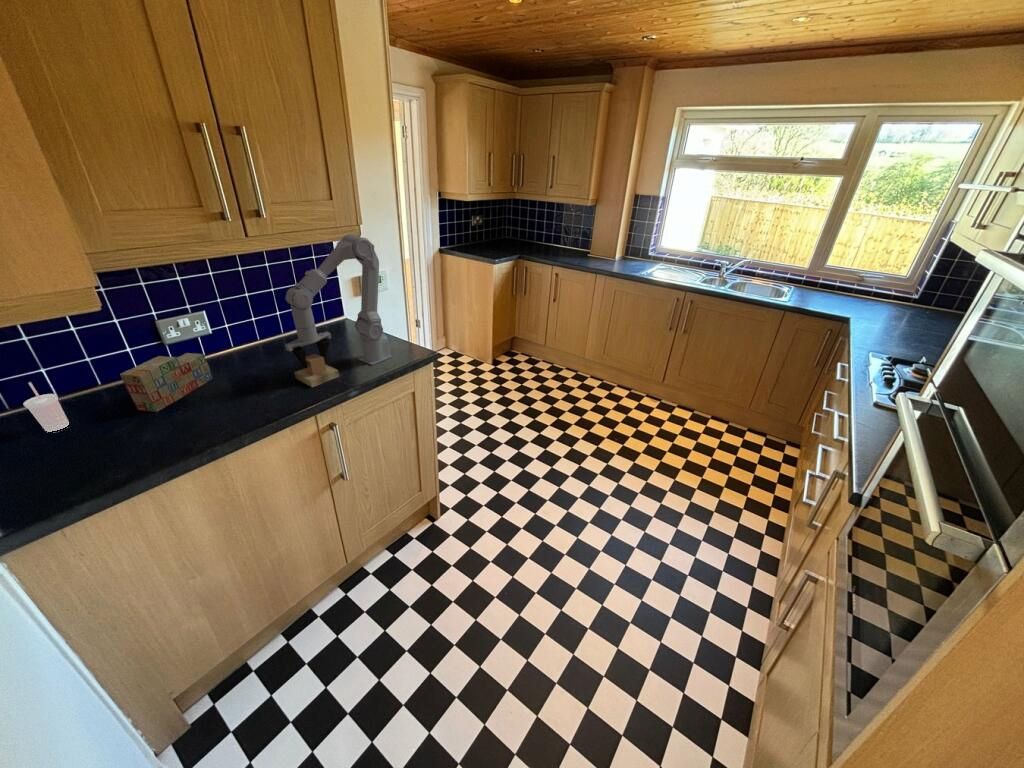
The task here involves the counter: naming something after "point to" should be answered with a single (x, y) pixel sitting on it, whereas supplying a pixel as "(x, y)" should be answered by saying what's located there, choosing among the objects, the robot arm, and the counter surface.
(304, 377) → the oak block
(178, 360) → the stack of blocks
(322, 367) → the brown cube
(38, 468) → the counter surface
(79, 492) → the counter surface
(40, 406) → the beverage cup
